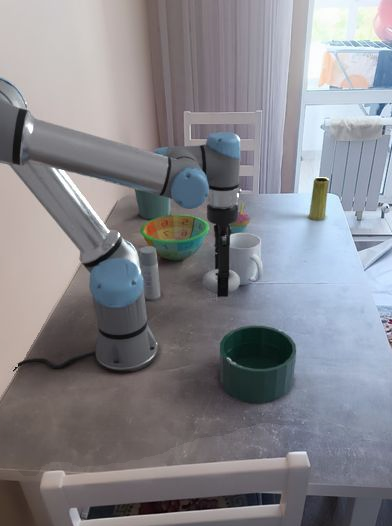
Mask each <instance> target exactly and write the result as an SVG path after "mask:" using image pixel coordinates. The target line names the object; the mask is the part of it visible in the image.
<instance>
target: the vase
mask: <svg viewBox="0 0 392 526" xmlns="http://www.w3.org/2000/svg"><path fill="white" fill-rule="evenodd" d="M329 182H330V180H329V178H327V177H315V178H314V179H313V186H312V192H311V199H310V206H309V207H310V208H309V214H308V218H309V219H310V220H313V221H322V220H325V218H326V212H327V211H326V210H327V209H326V208H327V199H328V191H329V190H328V189H329Z"/></svg>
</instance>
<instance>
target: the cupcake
mask: <svg viewBox="0 0 392 526" xmlns="http://www.w3.org/2000/svg"><path fill="white" fill-rule="evenodd" d="M244 202H245V200H244V199H243V200H242V202H241V205H240V210H239V211H238V219H237V221H236V222H234V223H231V224H229V225H230V229H231V233H232V234H235V233H246V232H245V231H246V229H247V226H248V225H249V224H250V222H251V216H249V214H248V213H246V212H244V211H243V209H244V204H245V203H244Z"/></svg>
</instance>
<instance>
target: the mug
mask: <svg viewBox="0 0 392 526" xmlns="http://www.w3.org/2000/svg"><path fill="white" fill-rule="evenodd" d="M261 253H262V239H261V238H260V237H259V236H258V235H255V234H253V233H249V232H244V233H231V235H230V246H229V270H231V271H234V272H235V273H236V274H237V275H238V276H239V278H240V285H239V286H246V285H249V284H251V283H258V282H260V281H262V279H263V278H264V265H263V262H262V260H261V255H262V254H261ZM256 276H257V278H256Z"/></svg>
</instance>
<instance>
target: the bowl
mask: <svg viewBox="0 0 392 526" xmlns="http://www.w3.org/2000/svg"><path fill="white" fill-rule="evenodd" d="M209 231H210V225H209V222H208V221H206V220H204V219H203V218H201V217H198V216H194V215H189V214H169V215H168V216H162V217H158V218H155V219H149V220H148V221H146V222H145V223H144V224H143V225H142V226H141V227H140V234H141V235H142V237H143V238H144V240H145V241H146V243H147V246H152V247H155V248H156V254H157V255H158V256H160V257H161V258H164V259H167V260H169V261H182V260H184V259H186V258H188V257H191V256H193V254H195V253H196V252H197V251H198V250H200V248H201V247H202V245H203V243H204V241H205V239H206V238H207V234H208V233H209Z"/></svg>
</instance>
